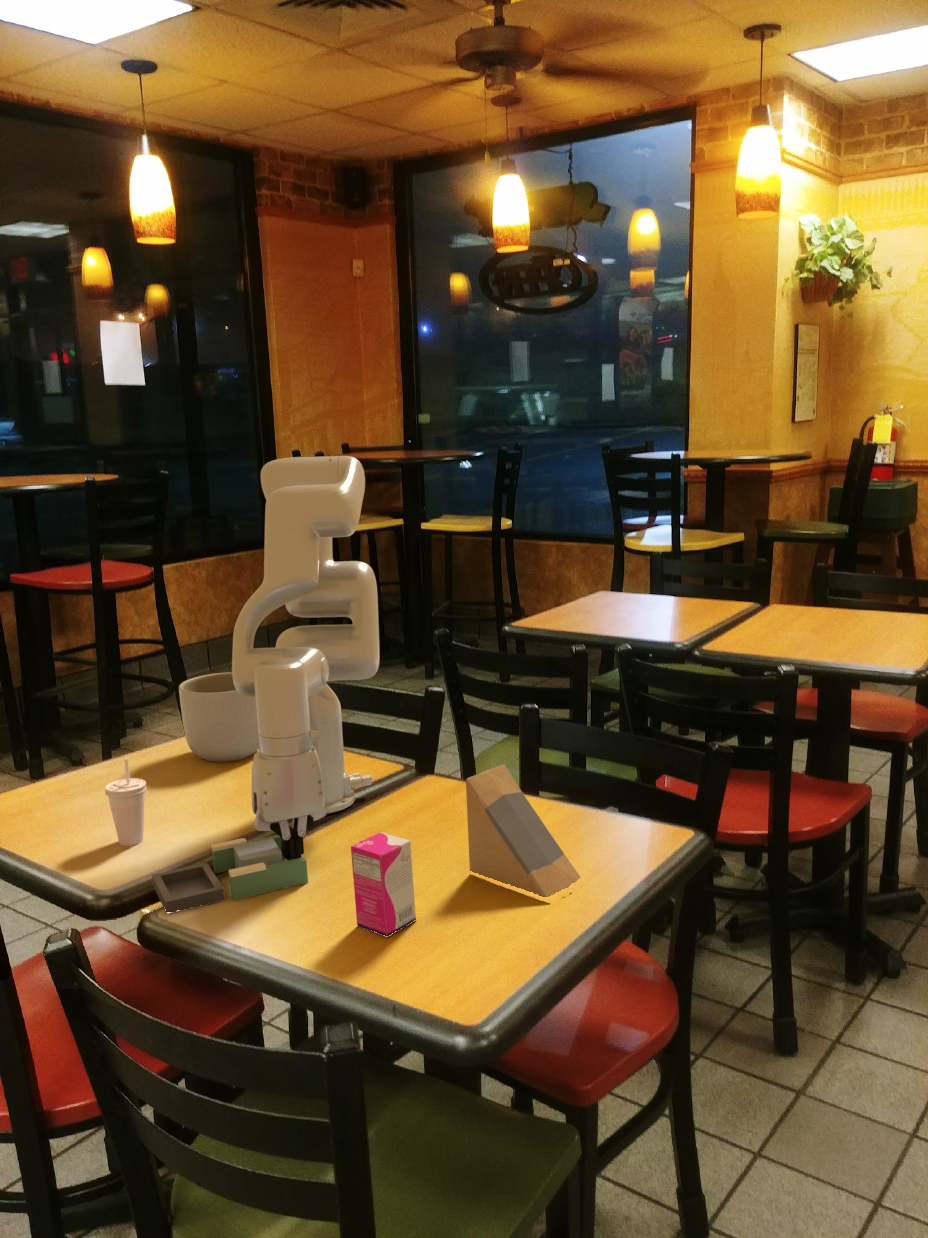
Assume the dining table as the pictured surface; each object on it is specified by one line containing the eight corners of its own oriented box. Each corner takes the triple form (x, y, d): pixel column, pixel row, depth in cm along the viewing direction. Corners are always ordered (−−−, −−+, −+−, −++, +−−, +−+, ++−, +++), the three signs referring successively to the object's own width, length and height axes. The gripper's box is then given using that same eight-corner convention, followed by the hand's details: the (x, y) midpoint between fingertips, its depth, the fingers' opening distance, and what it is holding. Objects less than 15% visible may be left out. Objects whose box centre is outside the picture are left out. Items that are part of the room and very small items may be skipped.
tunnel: (284, 854, 159) (282, 829, 158) (308, 882, 148) (306, 856, 148) (213, 870, 154) (211, 844, 153) (233, 900, 144) (230, 873, 143)
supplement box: (384, 909, 140) (380, 830, 137) (417, 921, 136) (413, 840, 134) (354, 926, 135) (349, 844, 133) (387, 939, 132) (382, 855, 129)
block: (274, 862, 156) (272, 838, 155) (283, 878, 151) (281, 853, 150) (235, 870, 154) (233, 845, 153) (242, 886, 148) (240, 860, 148)
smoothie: (139, 850, 162) (130, 766, 159) (102, 848, 163) (93, 764, 161) (159, 834, 168) (151, 753, 166) (123, 832, 170) (115, 751, 167)
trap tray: (208, 874, 153) (207, 862, 152) (224, 900, 144) (223, 888, 144) (153, 886, 149) (152, 874, 149) (166, 914, 140) (165, 902, 140)
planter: (245, 736, 220) (240, 667, 217) (286, 754, 207) (281, 681, 204) (171, 754, 209) (164, 682, 207) (208, 774, 197) (202, 698, 194)
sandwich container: (551, 907, 139) (549, 802, 136) (468, 876, 149) (464, 778, 146) (588, 885, 145) (587, 784, 142) (506, 856, 155) (503, 762, 153)
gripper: (324, 728, 156) (331, 841, 160) (227, 745, 150) (237, 863, 153) (342, 740, 150) (349, 858, 153) (241, 759, 143) (251, 881, 146)
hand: (293, 860), depth 153 cm, fingers closed
